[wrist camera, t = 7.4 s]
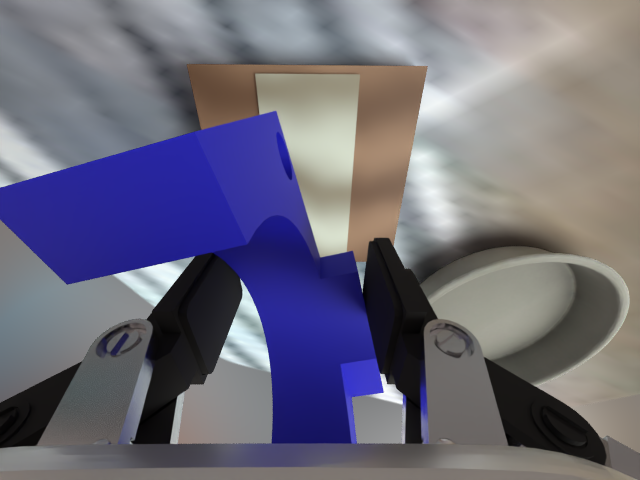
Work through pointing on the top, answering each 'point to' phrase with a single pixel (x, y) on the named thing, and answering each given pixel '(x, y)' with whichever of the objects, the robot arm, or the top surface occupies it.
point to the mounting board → (329, 137)
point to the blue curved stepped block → (219, 254)
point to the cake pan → (531, 307)
